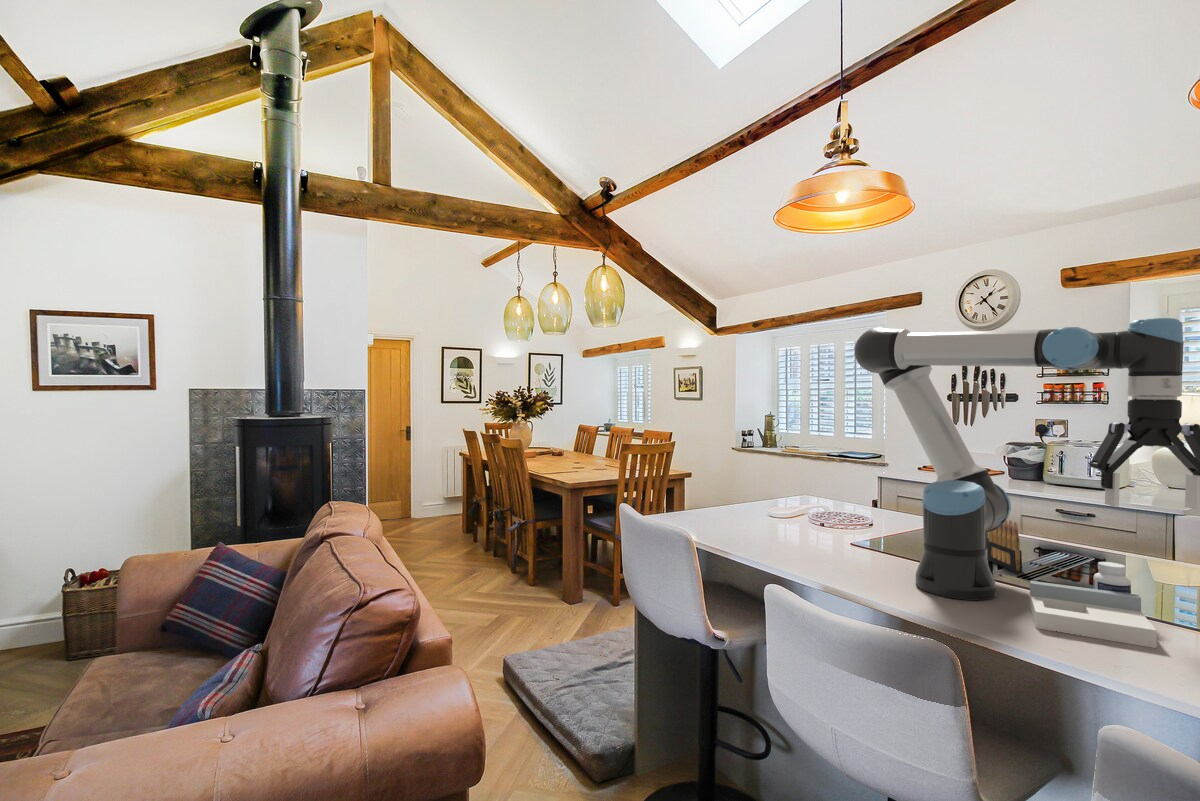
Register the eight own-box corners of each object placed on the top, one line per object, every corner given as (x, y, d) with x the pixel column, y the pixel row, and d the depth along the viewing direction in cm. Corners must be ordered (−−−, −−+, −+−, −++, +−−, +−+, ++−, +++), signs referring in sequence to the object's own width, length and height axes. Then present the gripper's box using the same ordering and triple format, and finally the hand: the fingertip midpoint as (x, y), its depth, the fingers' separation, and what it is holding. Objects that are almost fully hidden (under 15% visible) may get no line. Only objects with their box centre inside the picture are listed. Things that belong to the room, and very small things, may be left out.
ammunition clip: (986, 559, 147) (986, 514, 148) (994, 559, 147) (993, 514, 147) (1014, 571, 137) (1013, 522, 137) (1022, 571, 137) (1021, 522, 137)
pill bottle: (1139, 620, 105) (1138, 568, 106) (1106, 618, 107) (1105, 567, 107) (1118, 610, 111) (1117, 561, 111) (1087, 608, 112) (1086, 559, 112)
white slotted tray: (1035, 628, 103) (1035, 597, 103) (1030, 608, 113) (1029, 580, 113) (1156, 648, 94) (1155, 615, 94) (1138, 624, 104) (1138, 594, 104)
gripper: (1093, 398, 108) (1091, 507, 108) (1249, 399, 103) (1246, 514, 103) (1069, 397, 115) (1067, 500, 115) (1213, 398, 110) (1210, 506, 111)
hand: (1152, 507), depth 109 cm, fingers open, 13 cm apart
